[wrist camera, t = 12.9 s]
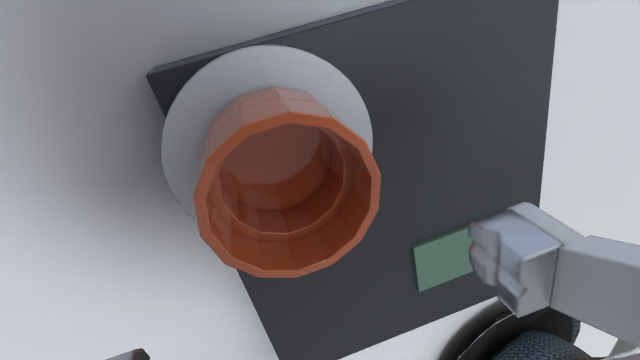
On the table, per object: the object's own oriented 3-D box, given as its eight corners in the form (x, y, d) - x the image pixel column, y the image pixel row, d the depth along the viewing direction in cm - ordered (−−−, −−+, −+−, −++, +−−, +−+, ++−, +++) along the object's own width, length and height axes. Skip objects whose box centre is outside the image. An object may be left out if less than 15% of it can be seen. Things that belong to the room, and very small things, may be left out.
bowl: (173, 113, 15) (157, 152, 11) (329, 66, 16) (366, 86, 12) (230, 237, 18) (233, 301, 14) (356, 194, 19) (392, 243, 15)
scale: (131, 73, 16) (116, 85, 14) (528, -39, 19) (577, -46, 16) (271, 358, 27) (276, 394, 24) (512, 264, 29) (539, 288, 27)
